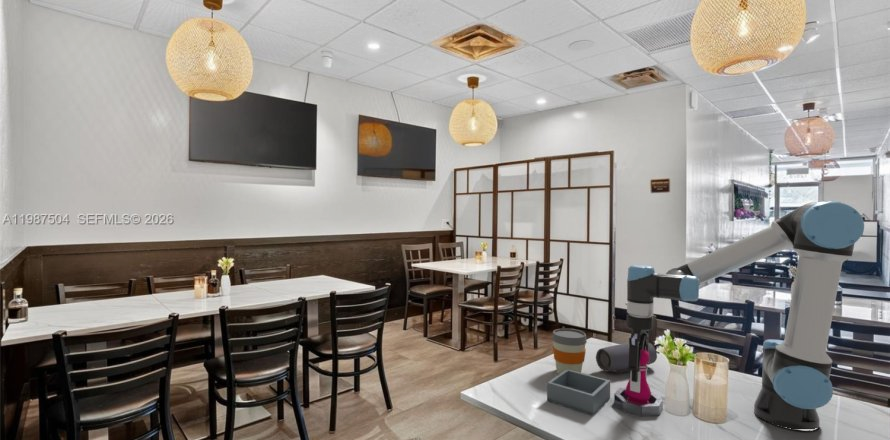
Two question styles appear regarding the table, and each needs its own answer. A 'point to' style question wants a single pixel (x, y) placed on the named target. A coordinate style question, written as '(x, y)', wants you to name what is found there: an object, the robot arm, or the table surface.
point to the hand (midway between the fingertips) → (638, 387)
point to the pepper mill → (641, 383)
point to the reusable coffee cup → (569, 349)
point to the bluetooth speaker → (619, 357)
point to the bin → (578, 391)
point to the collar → (636, 408)
